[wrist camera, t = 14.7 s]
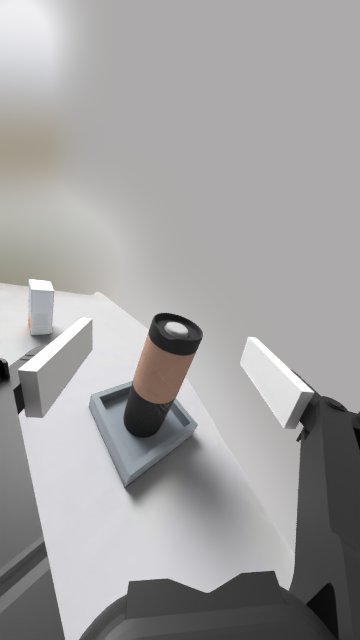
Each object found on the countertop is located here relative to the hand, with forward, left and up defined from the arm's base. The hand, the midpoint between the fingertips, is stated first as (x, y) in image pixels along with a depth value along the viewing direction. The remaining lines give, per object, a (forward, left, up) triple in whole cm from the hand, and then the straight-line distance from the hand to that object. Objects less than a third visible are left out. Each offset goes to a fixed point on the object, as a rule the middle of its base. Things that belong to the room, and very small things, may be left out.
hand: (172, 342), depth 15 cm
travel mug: (-6, +8, -23) cm, 25 cm away
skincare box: (-40, -2, -24) cm, 47 cm away
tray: (-6, +8, -23) cm, 26 cm away
